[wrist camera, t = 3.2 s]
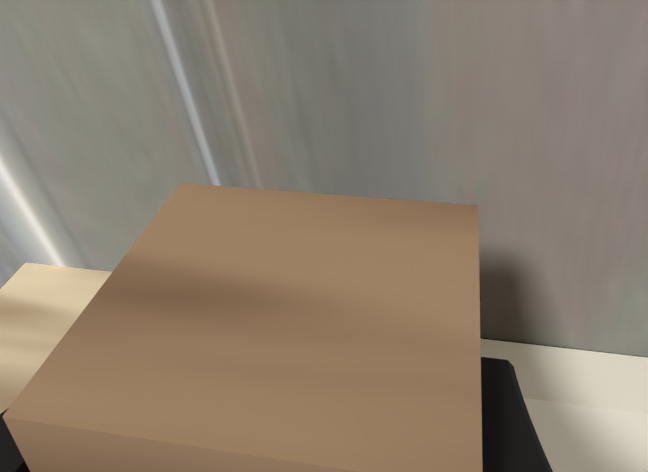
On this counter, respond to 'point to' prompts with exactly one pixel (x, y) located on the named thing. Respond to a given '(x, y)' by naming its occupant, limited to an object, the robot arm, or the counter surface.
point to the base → (582, 405)
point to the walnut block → (271, 343)
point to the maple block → (38, 318)
